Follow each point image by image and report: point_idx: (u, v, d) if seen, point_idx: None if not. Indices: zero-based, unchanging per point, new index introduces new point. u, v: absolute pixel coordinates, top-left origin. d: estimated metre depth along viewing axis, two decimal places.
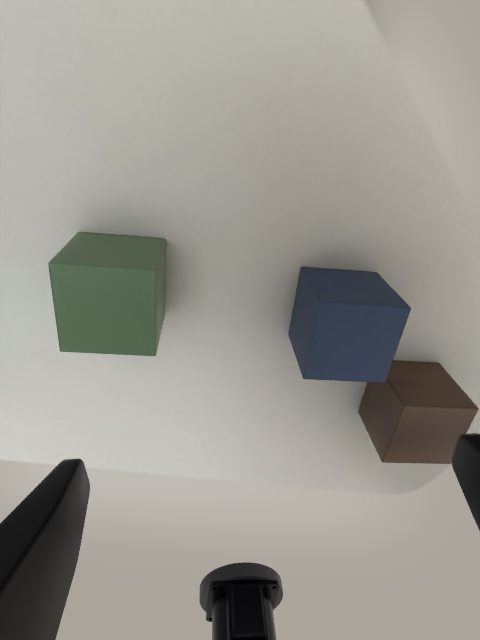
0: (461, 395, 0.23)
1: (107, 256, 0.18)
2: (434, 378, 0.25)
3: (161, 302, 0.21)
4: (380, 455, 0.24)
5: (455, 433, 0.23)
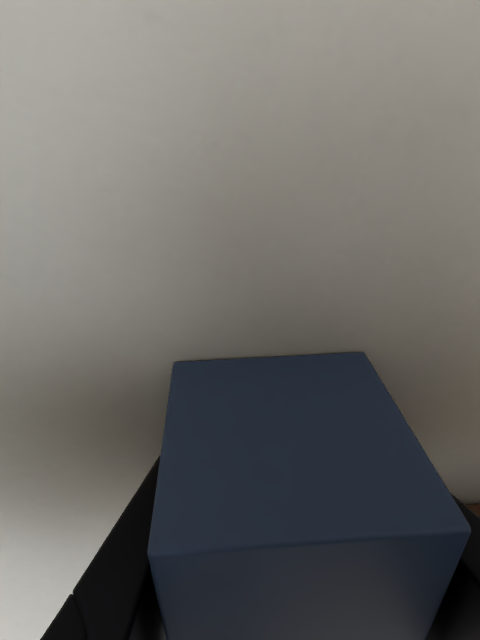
0: None
1: None
2: None
3: None
4: None
5: None
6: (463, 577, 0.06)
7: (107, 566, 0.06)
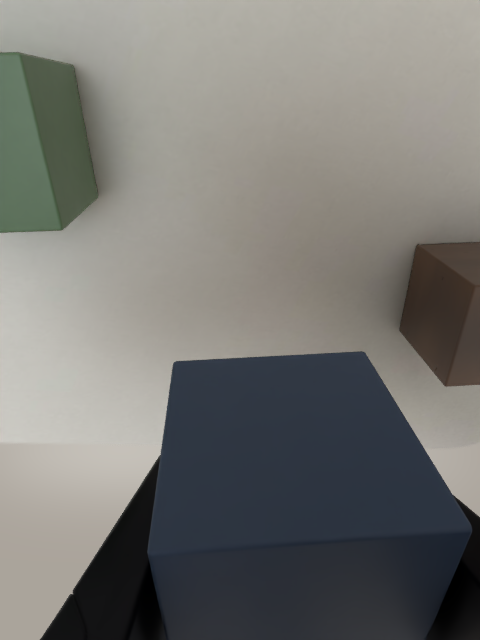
0: None
1: None
2: None
3: (74, 158, 0.13)
4: (441, 377, 0.16)
5: None
6: (463, 577, 0.06)
7: (107, 566, 0.06)
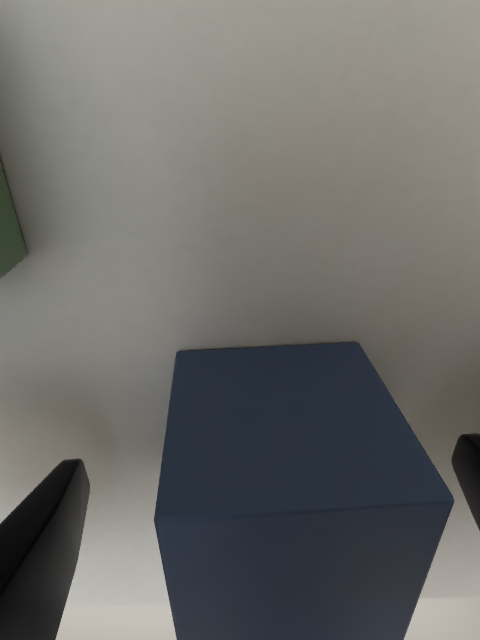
0: None
1: None
2: None
3: None
4: None
5: None
6: None
7: None
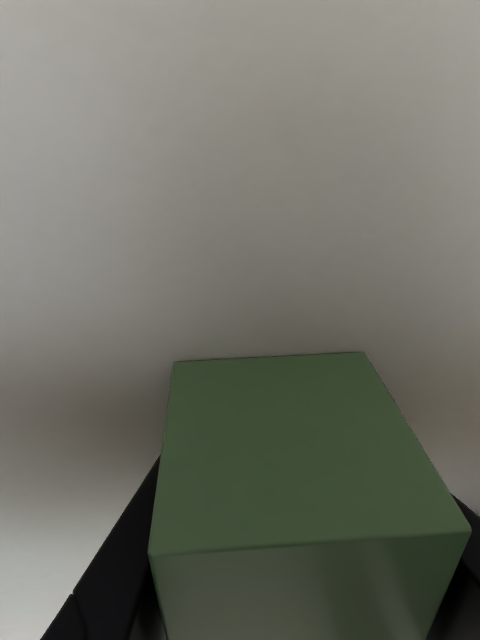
0: None
1: (291, 467, 0.06)
2: None
3: None
4: None
5: None
6: (463, 577, 0.06)
7: (107, 566, 0.06)
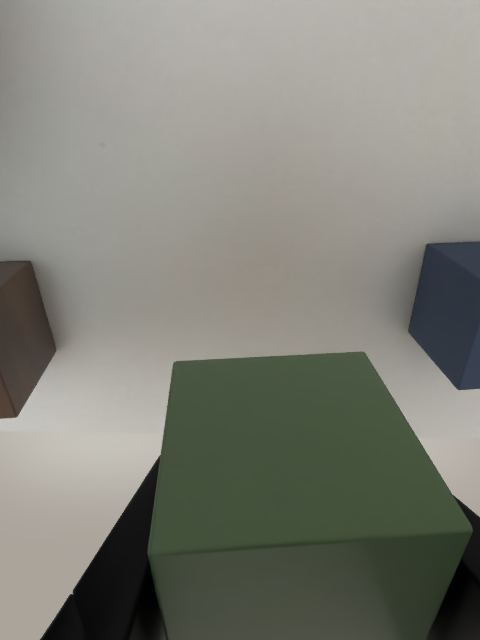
0: None
1: (291, 467, 0.06)
2: None
3: None
4: None
5: None
6: (463, 577, 0.06)
7: (107, 566, 0.06)
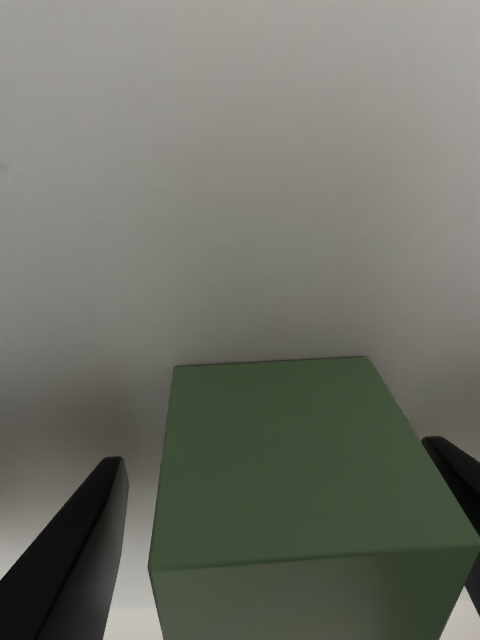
0: None
1: (295, 476, 0.06)
2: None
3: None
4: None
5: None
6: None
7: (25, 572, 0.06)
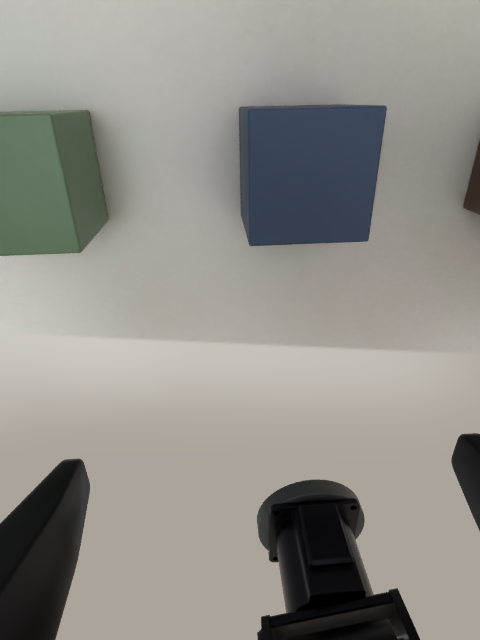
0: None
1: None
2: None
3: (89, 190, 0.16)
4: None
5: None
6: None
7: None
